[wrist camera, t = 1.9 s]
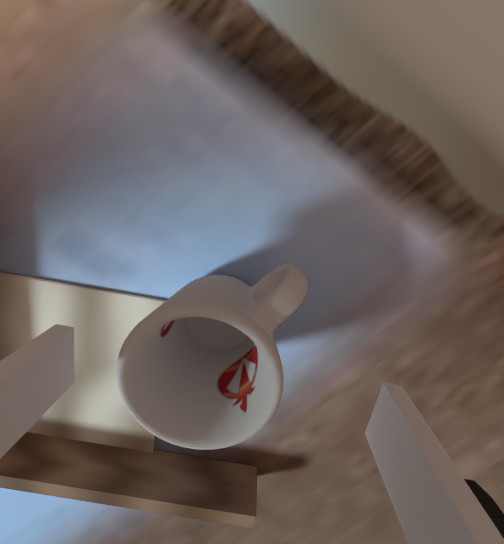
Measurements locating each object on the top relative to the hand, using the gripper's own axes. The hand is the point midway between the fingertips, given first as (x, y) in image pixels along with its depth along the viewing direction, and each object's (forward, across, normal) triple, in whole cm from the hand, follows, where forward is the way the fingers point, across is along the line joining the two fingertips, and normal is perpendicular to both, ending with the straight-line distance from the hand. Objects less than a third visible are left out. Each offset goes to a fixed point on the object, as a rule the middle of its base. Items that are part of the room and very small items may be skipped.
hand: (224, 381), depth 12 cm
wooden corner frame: (+9, -7, -6) cm, 13 cm away
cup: (+9, 0, 0) cm, 9 cm away
